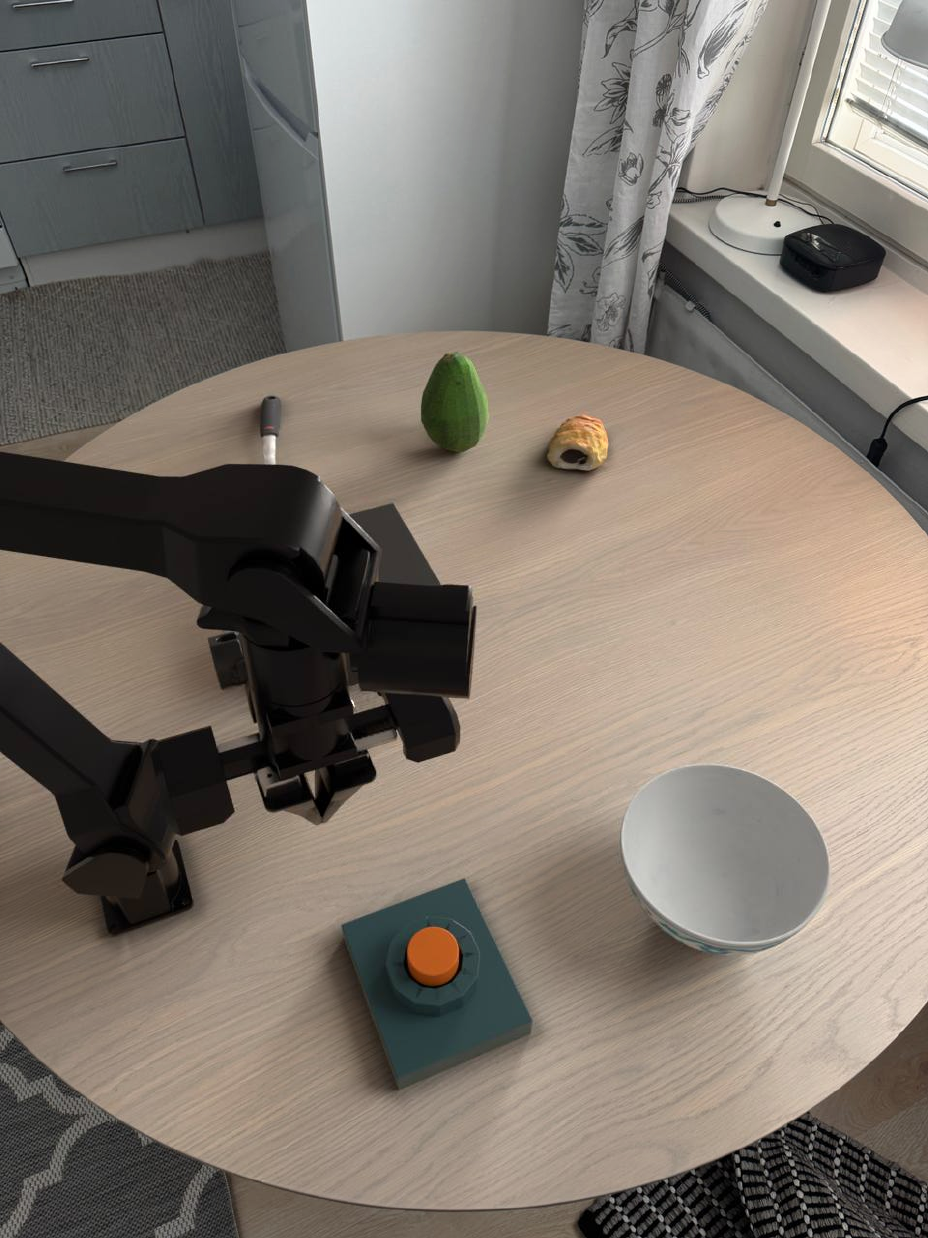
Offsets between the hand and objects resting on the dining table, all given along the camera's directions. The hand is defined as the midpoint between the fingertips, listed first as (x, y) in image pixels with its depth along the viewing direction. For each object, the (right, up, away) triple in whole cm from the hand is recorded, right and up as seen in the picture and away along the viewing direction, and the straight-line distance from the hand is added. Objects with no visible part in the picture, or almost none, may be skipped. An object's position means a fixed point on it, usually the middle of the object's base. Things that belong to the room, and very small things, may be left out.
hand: (319, 818), depth 69 cm
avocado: (+9, +35, +51) cm, 62 cm away
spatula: (-13, +33, +49) cm, 60 cm away
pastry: (+24, +34, +50) cm, 64 cm away
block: (+8, -13, +4) cm, 16 cm away
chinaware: (+29, -8, +9) cm, 31 cm away
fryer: (-1, +12, +29) cm, 31 cm away
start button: (+8, -10, +1) cm, 13 cm away
